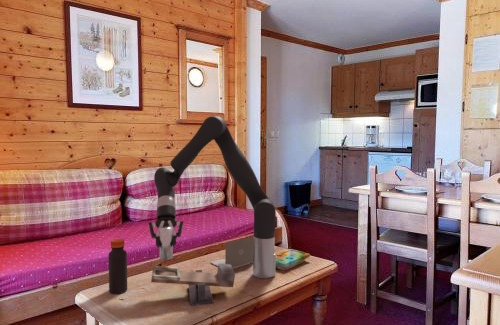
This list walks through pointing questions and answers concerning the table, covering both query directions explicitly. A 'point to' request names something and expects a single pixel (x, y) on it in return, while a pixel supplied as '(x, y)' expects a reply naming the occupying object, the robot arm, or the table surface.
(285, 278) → the table surface
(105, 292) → the table surface
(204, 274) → the balance beam
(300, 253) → the puzzle game
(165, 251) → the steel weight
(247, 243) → the laptop
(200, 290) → the fulcrum stand
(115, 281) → the bottle
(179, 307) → the table surface
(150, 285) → the table surface
